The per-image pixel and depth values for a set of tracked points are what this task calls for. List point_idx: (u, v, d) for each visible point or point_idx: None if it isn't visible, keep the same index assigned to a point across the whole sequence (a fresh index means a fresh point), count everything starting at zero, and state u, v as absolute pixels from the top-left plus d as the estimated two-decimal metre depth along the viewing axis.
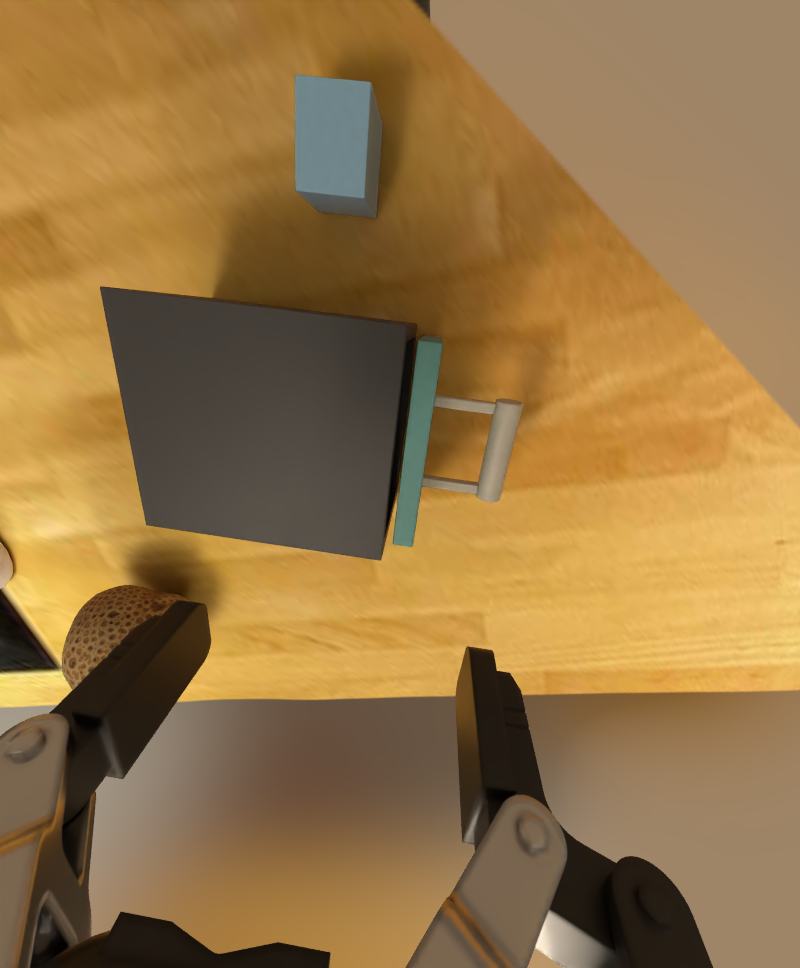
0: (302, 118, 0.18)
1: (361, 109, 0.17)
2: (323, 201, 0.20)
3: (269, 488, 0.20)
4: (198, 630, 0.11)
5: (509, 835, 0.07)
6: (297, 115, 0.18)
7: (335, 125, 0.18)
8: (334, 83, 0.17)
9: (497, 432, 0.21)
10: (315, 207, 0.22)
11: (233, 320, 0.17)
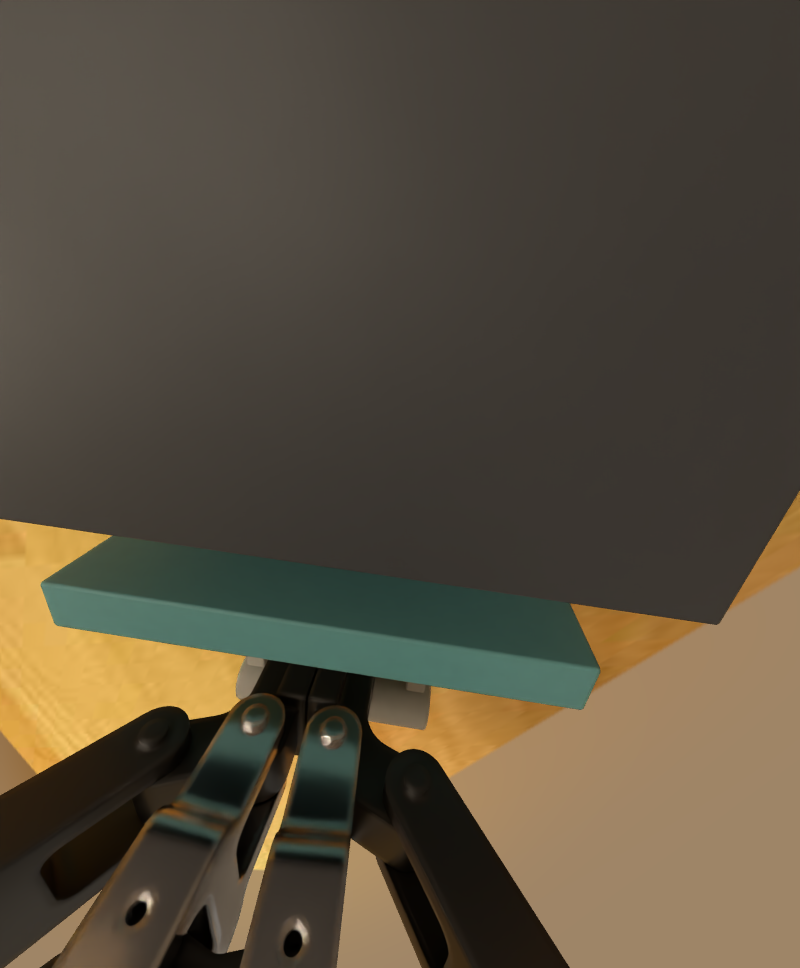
0: None
1: None
2: None
3: None
4: None
5: (316, 746, 0.07)
6: None
7: None
8: None
9: (373, 703, 0.11)
10: None
11: None
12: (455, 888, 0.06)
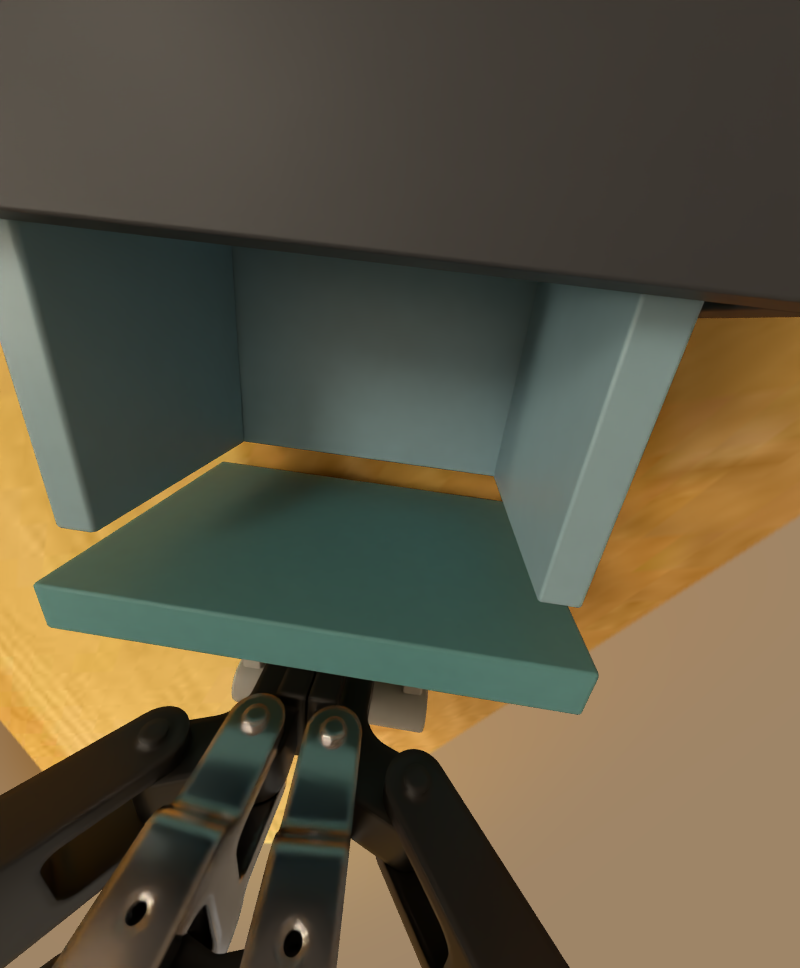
0: None
1: None
2: None
3: None
4: None
5: (316, 746, 0.07)
6: None
7: None
8: None
9: (370, 706, 0.11)
10: None
11: None
12: (455, 888, 0.06)
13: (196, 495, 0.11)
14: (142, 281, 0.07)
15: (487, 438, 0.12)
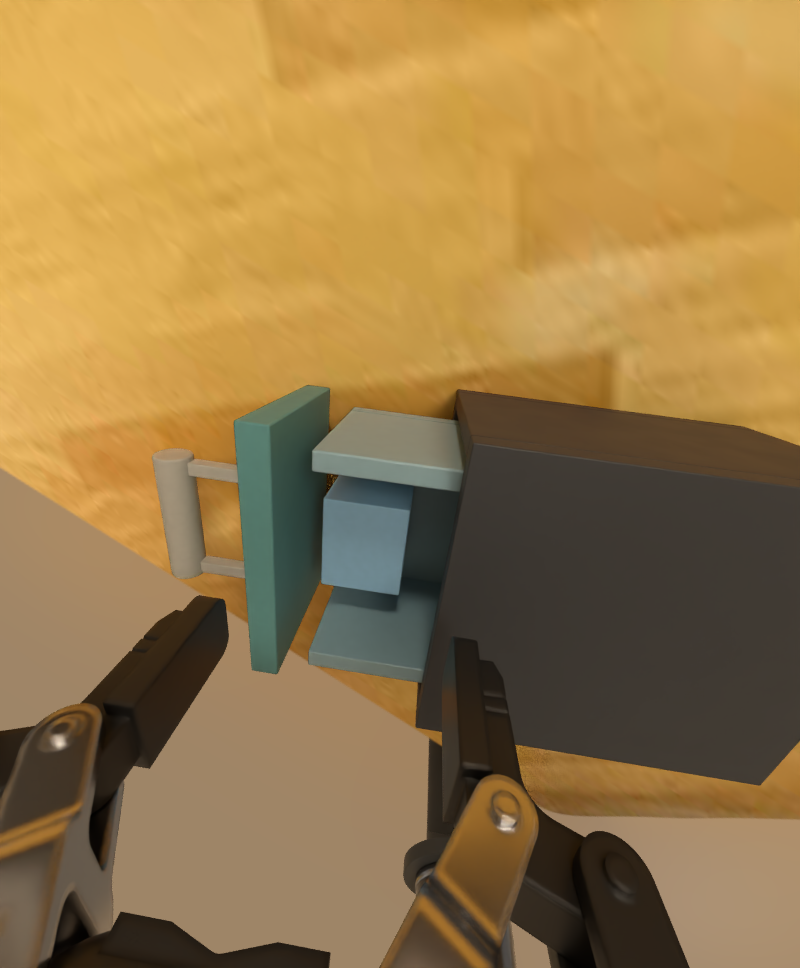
0: (393, 566, 0.16)
1: (329, 567, 0.16)
2: (389, 492, 0.16)
3: (655, 581, 0.12)
4: (217, 625, 0.11)
5: (484, 813, 0.07)
6: (399, 569, 0.16)
7: (357, 559, 0.16)
8: (358, 586, 0.17)
9: (186, 549, 0.17)
10: None
11: (611, 749, 0.15)
12: None
13: (312, 415, 0.16)
14: None
15: None
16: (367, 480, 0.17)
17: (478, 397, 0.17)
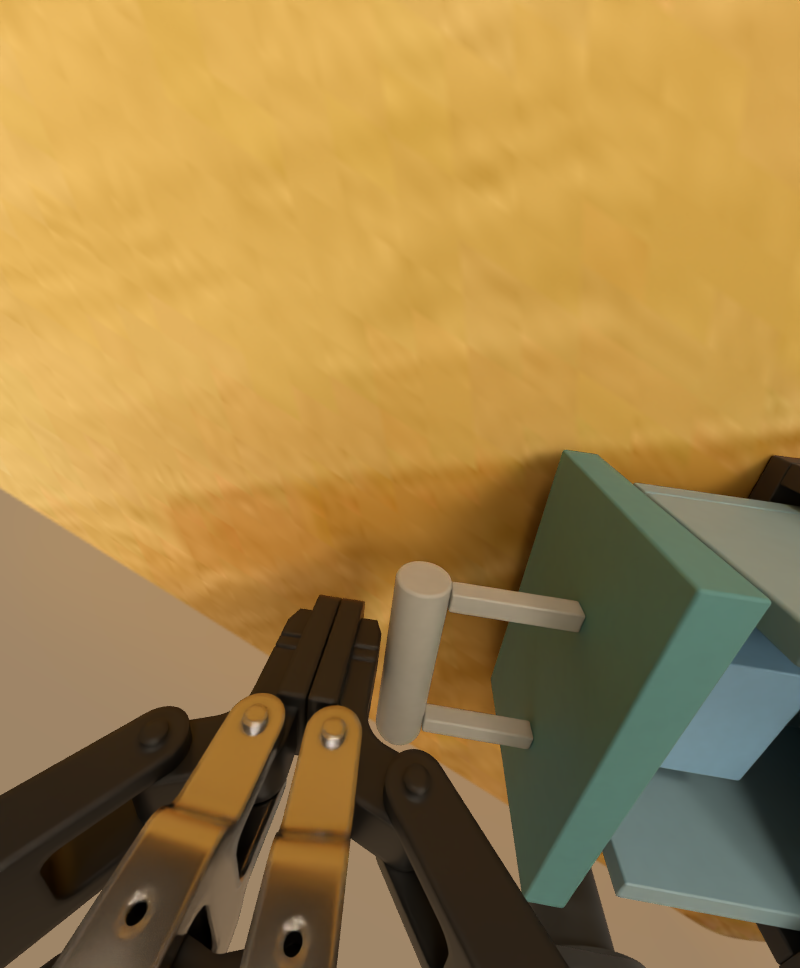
0: (753, 747, 0.10)
1: None
2: None
3: None
4: None
5: (316, 746, 0.07)
6: (759, 750, 0.10)
7: (695, 735, 0.10)
8: (678, 767, 0.11)
9: (416, 709, 0.11)
10: None
11: None
12: (455, 888, 0.06)
13: None
14: None
15: None
16: None
17: None
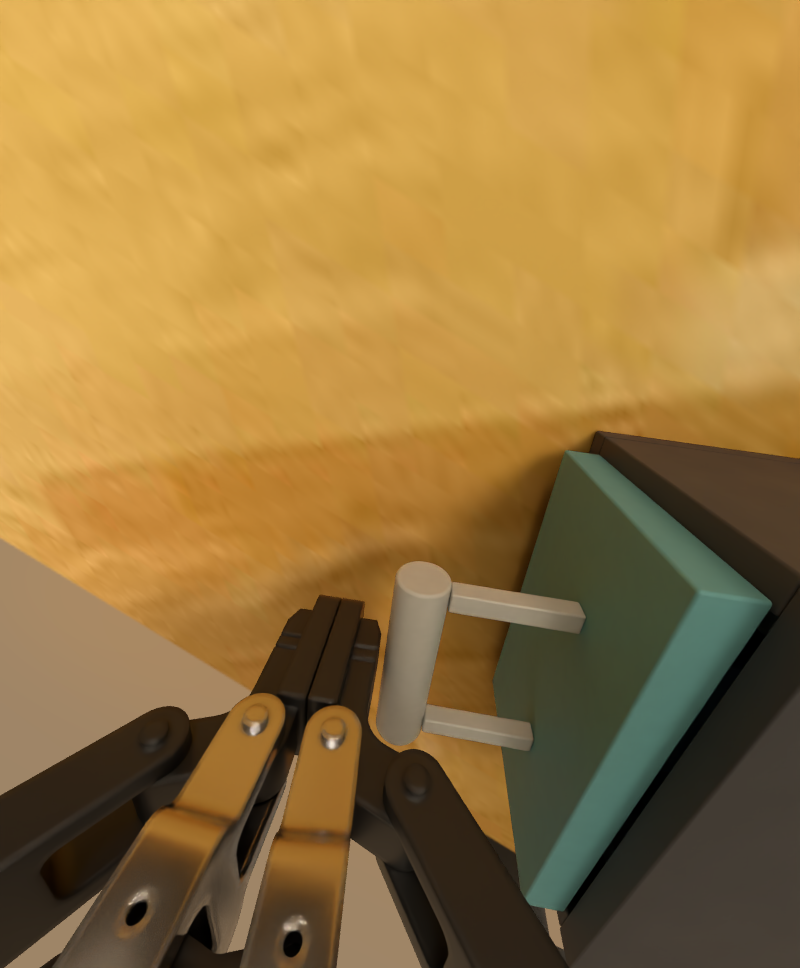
0: None
1: None
2: None
3: None
4: None
5: (316, 746, 0.07)
6: None
7: None
8: None
9: (416, 709, 0.11)
10: None
11: None
12: (455, 888, 0.06)
13: None
14: None
15: None
16: None
17: (644, 448, 0.12)
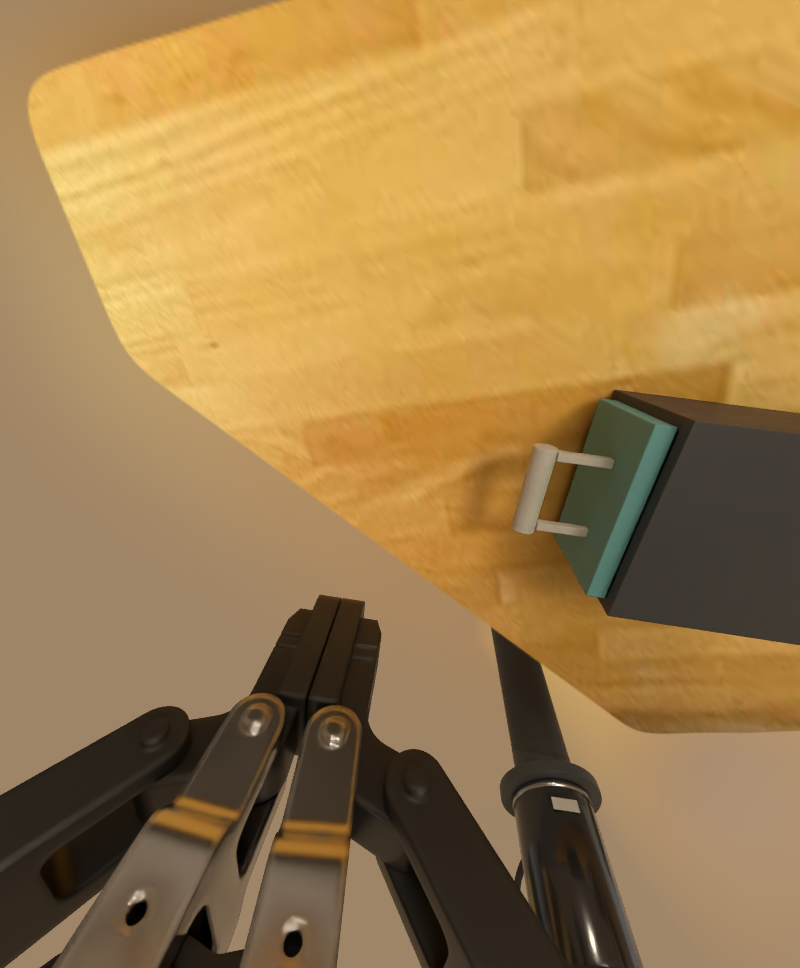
0: None
1: None
2: None
3: (790, 505, 0.19)
4: None
5: (316, 746, 0.07)
6: None
7: None
8: None
9: (536, 512, 0.24)
10: None
11: (741, 627, 0.23)
12: (455, 888, 0.06)
13: None
14: None
15: None
16: None
17: (638, 395, 0.25)
